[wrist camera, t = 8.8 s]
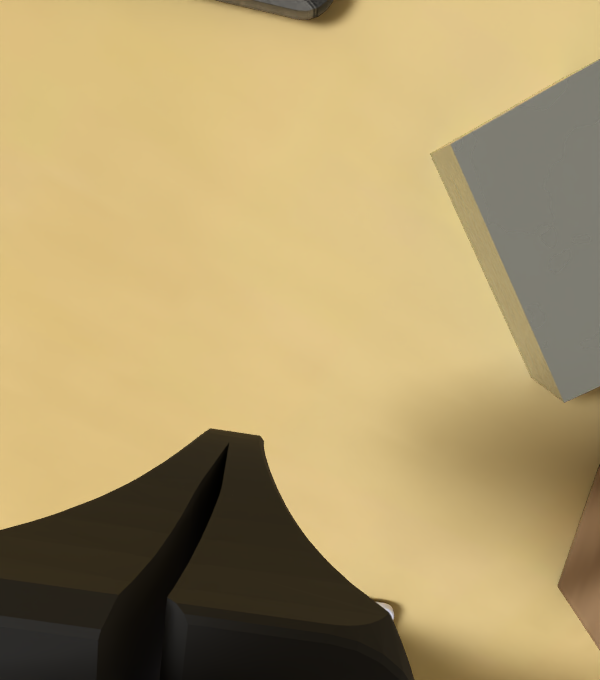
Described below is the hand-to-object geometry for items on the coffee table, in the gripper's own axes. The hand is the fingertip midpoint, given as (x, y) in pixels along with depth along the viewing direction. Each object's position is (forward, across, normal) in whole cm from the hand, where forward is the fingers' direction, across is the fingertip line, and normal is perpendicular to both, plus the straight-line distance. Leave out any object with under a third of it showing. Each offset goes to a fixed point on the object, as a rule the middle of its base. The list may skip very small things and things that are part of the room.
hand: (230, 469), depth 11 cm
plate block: (+9, -10, -6) cm, 15 cm away
